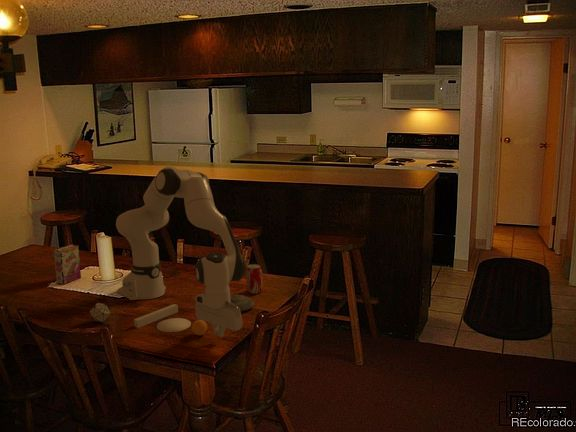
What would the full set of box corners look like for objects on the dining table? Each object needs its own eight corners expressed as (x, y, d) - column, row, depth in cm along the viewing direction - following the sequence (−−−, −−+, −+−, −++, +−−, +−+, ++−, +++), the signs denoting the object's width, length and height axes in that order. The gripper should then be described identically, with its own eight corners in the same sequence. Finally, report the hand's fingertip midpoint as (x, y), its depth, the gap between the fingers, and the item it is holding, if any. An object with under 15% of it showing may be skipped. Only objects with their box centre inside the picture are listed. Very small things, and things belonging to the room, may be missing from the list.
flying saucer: (241, 317, 233) (241, 304, 232) (210, 310, 240) (210, 298, 239) (261, 304, 246) (261, 292, 245) (231, 299, 253) (231, 287, 252)
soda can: (260, 295, 256) (259, 268, 254) (244, 294, 258) (243, 268, 255) (264, 289, 263) (263, 263, 260) (249, 288, 264) (248, 263, 262)
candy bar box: (64, 285, 273) (60, 251, 269) (56, 283, 275) (52, 250, 271) (82, 278, 282) (78, 245, 279) (74, 276, 285) (71, 244, 281)
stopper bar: (134, 326, 225) (134, 319, 224) (174, 310, 240) (174, 303, 239) (137, 328, 224) (137, 320, 223) (178, 311, 239) (177, 304, 238)
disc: (149, 326, 225) (149, 326, 225) (175, 316, 235) (175, 315, 235) (171, 335, 217) (171, 334, 217) (198, 323, 227) (197, 323, 227)
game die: (98, 329, 232) (91, 306, 235) (118, 321, 232) (111, 298, 235) (88, 327, 223) (81, 303, 226) (108, 319, 223) (102, 294, 226)
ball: (189, 335, 216) (188, 321, 215) (200, 330, 221) (199, 316, 219) (199, 339, 213) (198, 324, 212) (210, 334, 217) (210, 319, 216)
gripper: (245, 302, 203) (247, 339, 206) (204, 290, 216) (206, 326, 219) (233, 308, 198) (234, 346, 201) (191, 295, 211) (193, 331, 214)
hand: (219, 335), depth 210 cm, fingers closed
